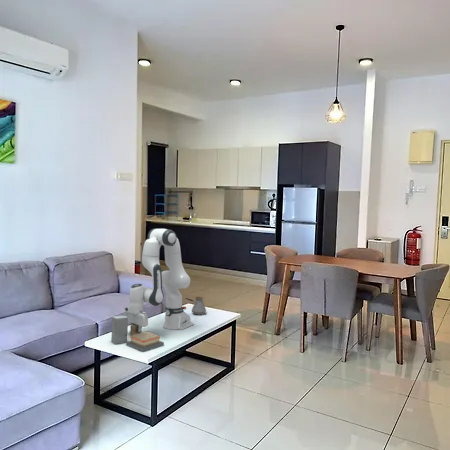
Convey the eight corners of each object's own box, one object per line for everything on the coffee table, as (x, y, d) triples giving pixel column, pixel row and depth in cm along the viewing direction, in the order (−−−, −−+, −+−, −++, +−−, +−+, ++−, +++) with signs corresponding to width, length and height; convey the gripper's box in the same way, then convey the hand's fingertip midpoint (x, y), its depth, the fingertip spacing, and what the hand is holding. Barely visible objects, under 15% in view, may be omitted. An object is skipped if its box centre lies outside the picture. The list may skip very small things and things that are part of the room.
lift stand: (147, 339, 264) (147, 329, 263) (163, 345, 253) (164, 335, 253) (126, 345, 252) (126, 335, 251) (142, 352, 241) (143, 342, 241)
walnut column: (136, 334, 272) (136, 322, 271) (141, 336, 268) (141, 323, 268) (130, 336, 268) (130, 323, 267) (135, 337, 265) (135, 325, 264)
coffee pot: (198, 311, 335) (198, 292, 334) (209, 313, 328) (209, 295, 327) (179, 316, 319) (179, 296, 318) (190, 319, 311) (190, 299, 311)
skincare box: (115, 344, 252) (115, 319, 251) (110, 341, 258) (111, 316, 257) (128, 342, 257) (128, 317, 256) (123, 339, 263) (124, 314, 262)
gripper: (150, 311, 263) (150, 333, 264) (130, 305, 276) (130, 326, 277) (142, 313, 258) (142, 335, 259) (122, 307, 271) (122, 328, 272)
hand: (136, 330), depth 268 cm, fingers closed on walnut column, 5 cm apart
